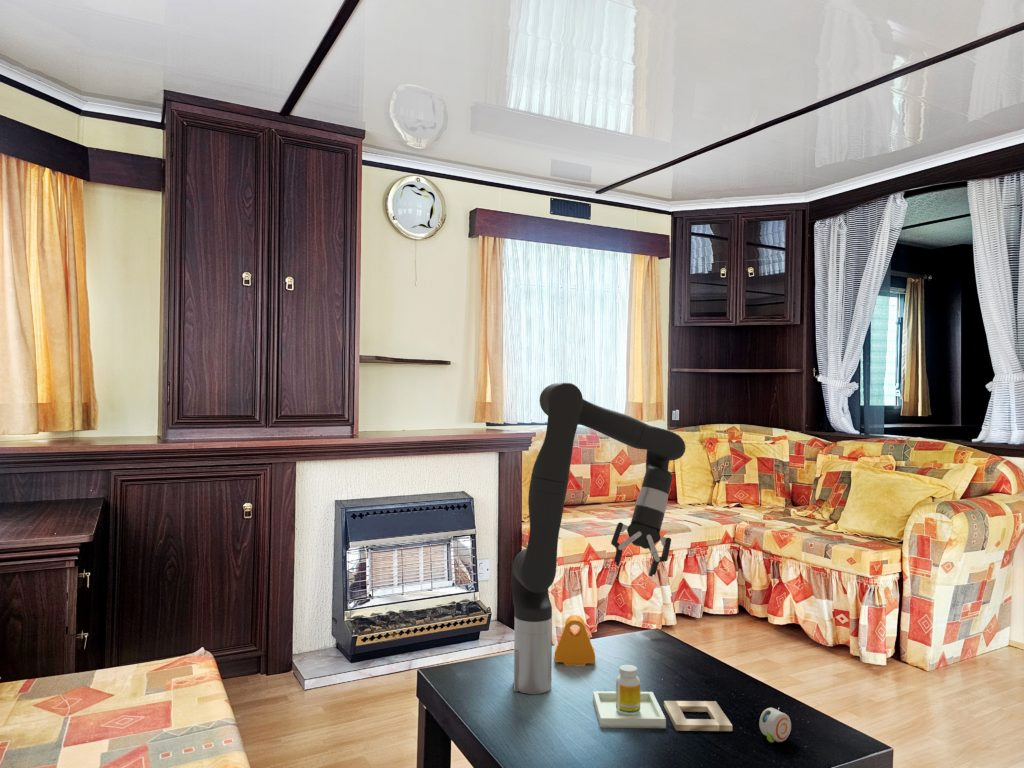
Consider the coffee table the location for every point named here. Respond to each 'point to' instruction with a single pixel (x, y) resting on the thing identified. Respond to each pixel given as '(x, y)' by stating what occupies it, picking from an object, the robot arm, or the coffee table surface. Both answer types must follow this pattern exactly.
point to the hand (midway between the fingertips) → (633, 570)
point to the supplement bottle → (628, 690)
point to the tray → (613, 719)
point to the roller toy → (775, 725)
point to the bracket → (574, 644)
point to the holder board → (682, 724)
